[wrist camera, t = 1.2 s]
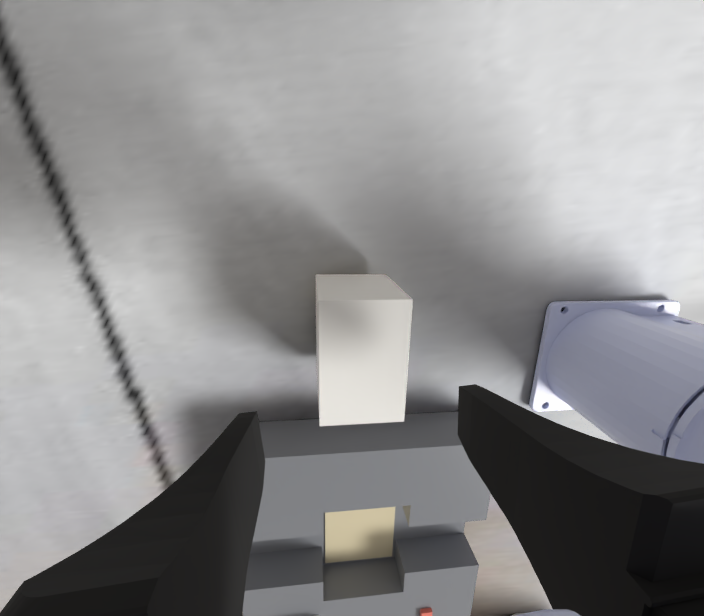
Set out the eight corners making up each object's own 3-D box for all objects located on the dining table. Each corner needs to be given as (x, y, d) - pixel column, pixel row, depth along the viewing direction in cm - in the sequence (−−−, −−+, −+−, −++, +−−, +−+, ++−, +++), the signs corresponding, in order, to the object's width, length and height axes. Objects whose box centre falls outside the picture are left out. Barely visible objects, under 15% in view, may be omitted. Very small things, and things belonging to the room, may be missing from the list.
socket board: (473, 410, 25) (505, 451, 21) (450, 577, 29) (473, 638, 25) (239, 423, 23) (224, 471, 19) (254, 599, 28) (244, 669, 23)
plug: (382, 270, 21) (412, 299, 15) (378, 362, 23) (404, 421, 17) (315, 271, 21) (318, 300, 14) (316, 364, 22) (319, 426, 16)
